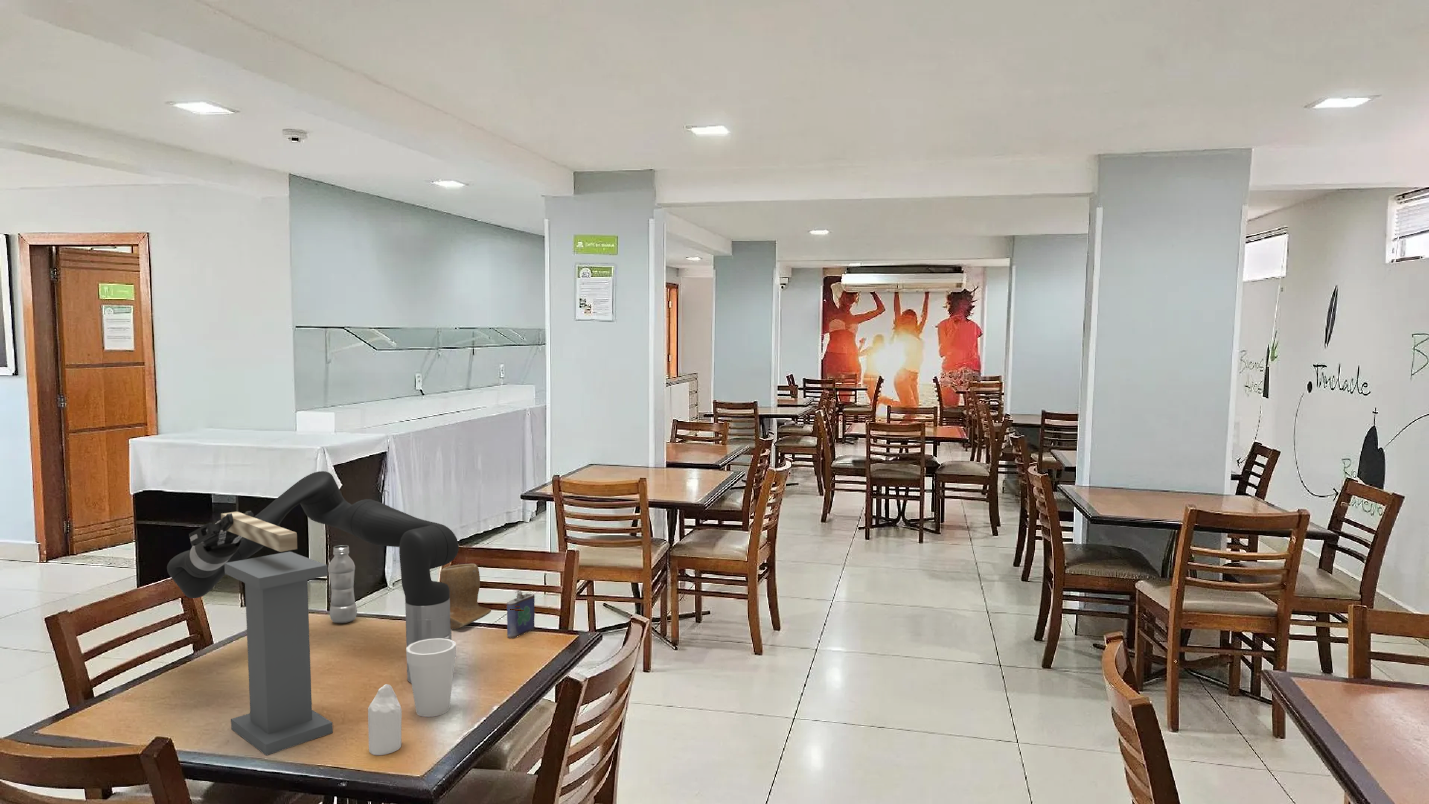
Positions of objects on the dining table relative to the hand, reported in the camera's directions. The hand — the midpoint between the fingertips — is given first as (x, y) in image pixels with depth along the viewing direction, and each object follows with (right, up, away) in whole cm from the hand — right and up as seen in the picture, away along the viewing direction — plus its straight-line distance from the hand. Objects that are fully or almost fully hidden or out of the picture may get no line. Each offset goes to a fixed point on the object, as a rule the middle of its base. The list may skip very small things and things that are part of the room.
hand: (240, 516), depth 172 cm
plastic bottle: (-4, -35, +56) cm, 67 cm away
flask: (+45, -36, +48) cm, 74 cm away
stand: (+12, -39, -8) cm, 42 cm away
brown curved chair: (+27, -35, +57) cm, 72 cm away
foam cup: (+37, -39, +2) cm, 54 cm away
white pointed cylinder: (+34, -40, -15) cm, 55 cm away
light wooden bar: (+6, -3, -5) cm, 9 cm away
